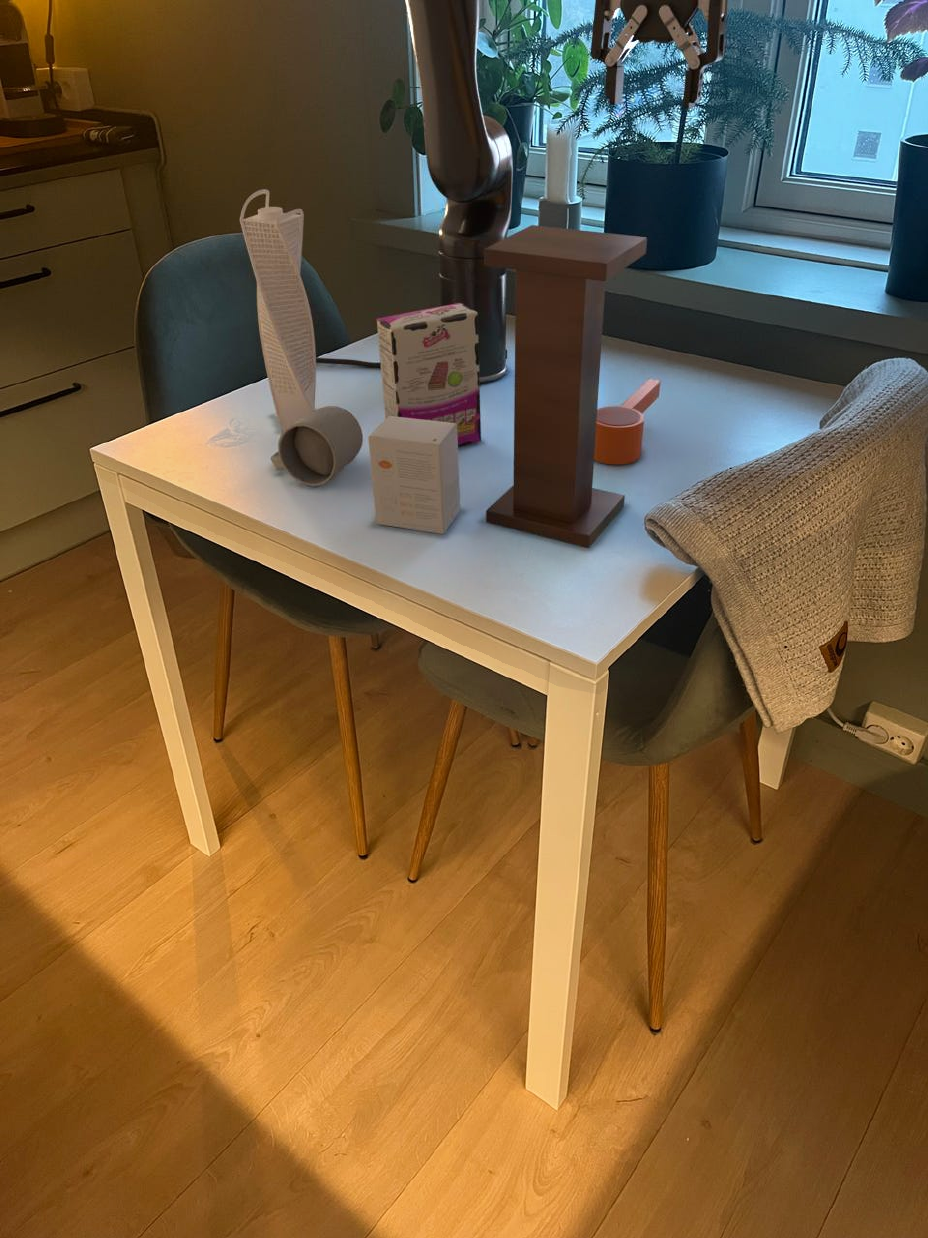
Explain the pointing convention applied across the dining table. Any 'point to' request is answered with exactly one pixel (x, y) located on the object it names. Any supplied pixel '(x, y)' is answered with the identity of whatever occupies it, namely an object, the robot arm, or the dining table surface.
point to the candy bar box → (433, 367)
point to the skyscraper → (282, 308)
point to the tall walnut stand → (558, 378)
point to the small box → (415, 473)
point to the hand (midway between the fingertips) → (651, 106)
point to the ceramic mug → (319, 445)
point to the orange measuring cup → (624, 427)
